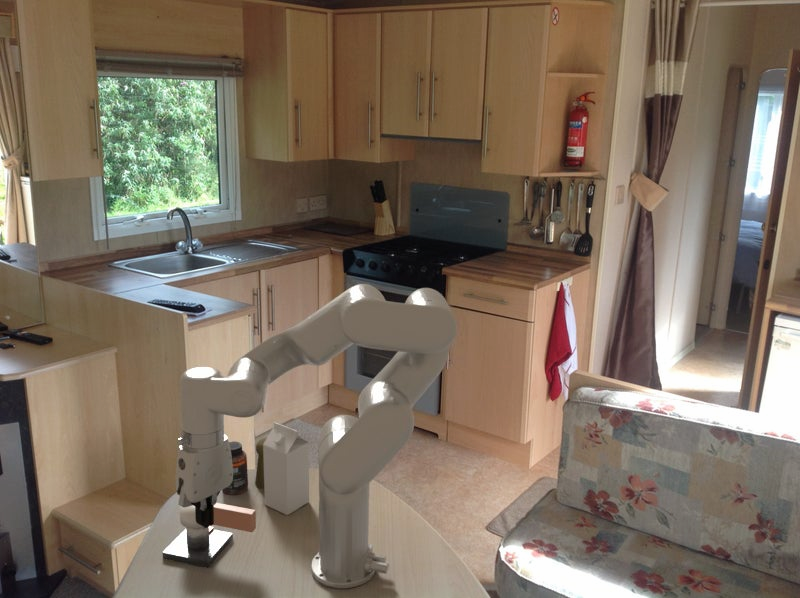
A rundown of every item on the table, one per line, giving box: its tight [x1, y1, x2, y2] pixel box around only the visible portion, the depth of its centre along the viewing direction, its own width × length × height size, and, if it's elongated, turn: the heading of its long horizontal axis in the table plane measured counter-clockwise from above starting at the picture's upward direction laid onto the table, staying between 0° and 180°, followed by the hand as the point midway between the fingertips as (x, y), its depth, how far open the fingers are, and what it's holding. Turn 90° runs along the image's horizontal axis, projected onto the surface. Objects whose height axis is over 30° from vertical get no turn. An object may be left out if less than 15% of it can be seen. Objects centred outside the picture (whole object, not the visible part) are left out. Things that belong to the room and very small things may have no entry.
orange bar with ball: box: [179, 502, 257, 533], centre depth 146 cm, size 16×6×4 cm, turn 74°
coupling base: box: [162, 526, 234, 569], centre depth 149 cm, size 10×10×6 cm
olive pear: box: [254, 437, 267, 490], centre depth 174 cm, size 6×6×11 cm
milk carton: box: [263, 421, 310, 516], centre depth 164 cm, size 7×7×19 cm
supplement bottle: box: [222, 441, 249, 496], centre depth 171 cm, size 6×6×11 cm
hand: (204, 523), depth 139 cm, fingers closed
